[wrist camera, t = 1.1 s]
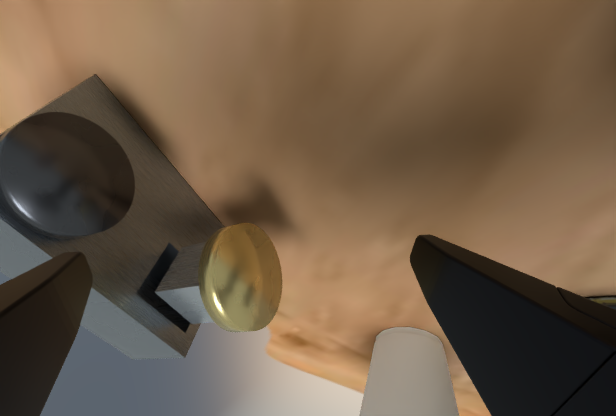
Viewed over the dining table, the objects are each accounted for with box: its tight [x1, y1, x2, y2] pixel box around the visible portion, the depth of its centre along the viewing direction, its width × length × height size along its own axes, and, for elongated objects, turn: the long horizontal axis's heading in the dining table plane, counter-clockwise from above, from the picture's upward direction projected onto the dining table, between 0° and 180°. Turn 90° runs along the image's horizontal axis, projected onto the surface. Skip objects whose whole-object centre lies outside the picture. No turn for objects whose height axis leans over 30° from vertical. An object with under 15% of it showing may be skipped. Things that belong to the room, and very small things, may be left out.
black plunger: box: [0, 112, 135, 239], centre depth 18 cm, size 5×6×6 cm
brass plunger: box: [155, 223, 282, 332], centre depth 21 cm, size 5×6×6 cm
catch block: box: [0, 74, 224, 359], centre depth 22 cm, size 5×15×10 cm, turn 26°
